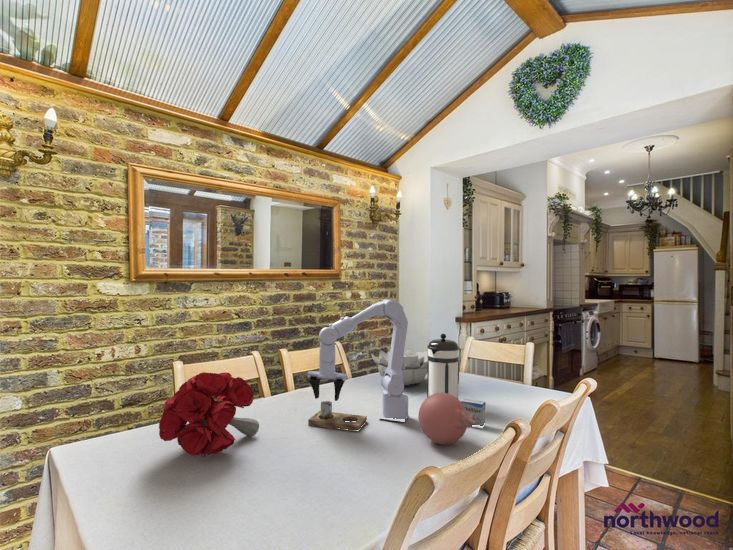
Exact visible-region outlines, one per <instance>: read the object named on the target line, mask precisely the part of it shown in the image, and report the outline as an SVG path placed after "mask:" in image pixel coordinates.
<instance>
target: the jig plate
mask: <svg viewBox="0 0 733 550" xmlns="http://www.w3.org/2000/svg"><path fill="white" fill-rule="evenodd" d="M320 418H321V410H319V411H317V412H316V413H315V414H314V415H312V416H311V417H310V418H308V420H307V421H308V424H307V425H308V426H310V425H314V426H313V427H317V426H321V427H320V428H325V427H329V428H328V429H333V428H340V429H348V430H359V429H360V428H361V426H362V425H363V424H364V423H365V422H366V420H368V416H367V415H359V414H352V413H351V414H350V413H342V412H334V411H332V419H320ZM345 421H356V422H345ZM366 423H367V422H366ZM366 423H365V424H366ZM340 429H339V430H340ZM361 429H362V428H361ZM361 429H360V430H361ZM348 430H347V431H348ZM360 430H359V431H360Z"/></svg>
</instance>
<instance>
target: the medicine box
mask: <svg viewBox="0 0 733 550" xmlns="http://www.w3.org/2000/svg"><path fill="white" fill-rule="evenodd" d="M460 401H461V403H462V404H463V405H464V407H465V409H466V412H467V413H468V415H470V414H473V415H474V416H475V419H476V422H477V425H480V426H483V425H484V423H485V424H486V401H483V400H482V401H481V400H475V399H469V398H463V399H461V400H460Z"/></svg>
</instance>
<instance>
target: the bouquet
mask: <svg viewBox="0 0 733 550" xmlns="http://www.w3.org/2000/svg"><path fill="white" fill-rule="evenodd" d="M215 399H216V400H215ZM253 402H254V392H253V389H252V386H250V384H249V383H248V382H247V381H246V380H245V379H244V378H243V377H240V376H237V377H233V376H232V374H231V373H230V372H221V373H216V372H214V373H213V372H206V371H205V372H204V371H203V372H199V374H196V375H194V376H192V377H190V378H188V380H187V381H185V382H184V383H182V384H181V385H180V386H179V389H178V390H177V391H176V392H174V393H173V395H172V397H169V398H168V399H167V400H165V402H164V406H163V413H162V414H161V418H160V420H159V423H158V429H159V433H158V436H159V438H160V439H161V440H162V441H164V442H167V441H168V442H170V441H172V440H174V439H177V444H178V445H179V446H180V447H181V448H182V450H183V451H184V452H185V453H186V454H188V455H189V456H193V457H197V456H200V455H202V457H203V458H205V457H206V456H210V455H215V454H219V453H221V452H223V451H224V450H227V449H228V448H230V447H231V446H233V445H234V443H235V441H236V438H235V437H234V436H233V434H231V432H230V431H229V430H228V429H226V428H227V427H228V425H231V427H233V428H234V429H236V430H237V431H238V432H240V433H241V434H243V435H245V436H248V437H254V436H255V435H256V434H257V433H258V432H259V429H260V423H259V421H258V420H256V419H254V418H249V417H248V418H247V417H235V415H236V413H237V408H241V409H245V407H250V406H251V405H252V404H253Z"/></svg>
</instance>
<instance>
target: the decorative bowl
mask: <svg viewBox="0 0 733 550" xmlns="http://www.w3.org/2000/svg"><path fill="white" fill-rule="evenodd" d="M389 355H390V349H389V350H388V351H387V353H386V352H385V351H383V350H380V351H379V352H378V357H376V356H375V355H374V353H371V358H372V360H373V361H374V362H375V364H377V370H378V373H379V375H380V376H381V379H382V378H383V376H384V375H385V370H386V368H387V367H388V362H389ZM427 369H428V351H423V352H421V351H417V352H414V351H413V350H411V349H407V350H404V355H403V362H402V374H403V383H404V385H408V386H410V385H409V384H413V385H415V383H416V384H419V383H421V382H422V381H423V380H425V378H426V377H427Z"/></svg>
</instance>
